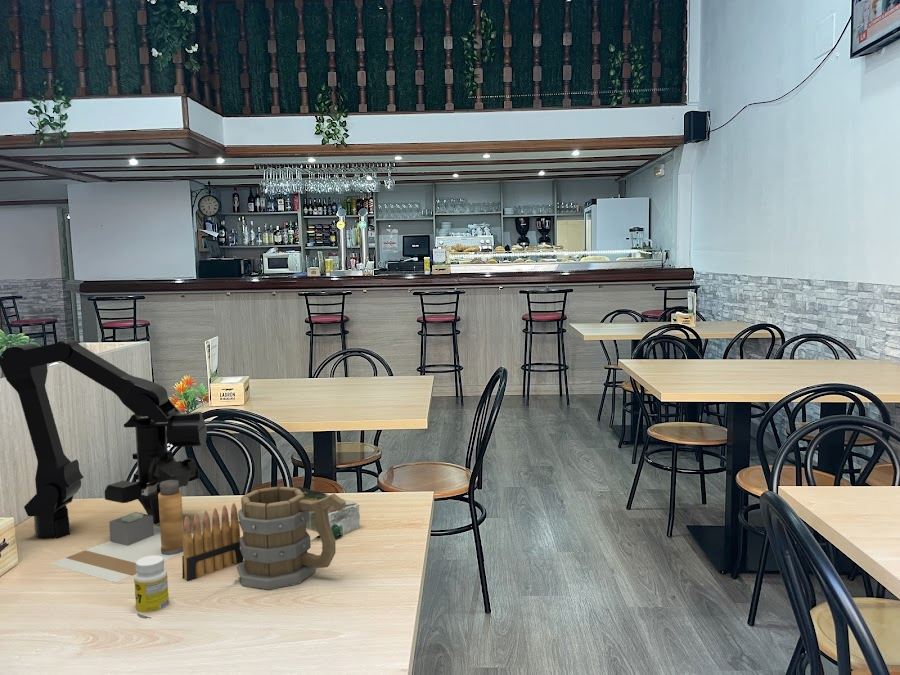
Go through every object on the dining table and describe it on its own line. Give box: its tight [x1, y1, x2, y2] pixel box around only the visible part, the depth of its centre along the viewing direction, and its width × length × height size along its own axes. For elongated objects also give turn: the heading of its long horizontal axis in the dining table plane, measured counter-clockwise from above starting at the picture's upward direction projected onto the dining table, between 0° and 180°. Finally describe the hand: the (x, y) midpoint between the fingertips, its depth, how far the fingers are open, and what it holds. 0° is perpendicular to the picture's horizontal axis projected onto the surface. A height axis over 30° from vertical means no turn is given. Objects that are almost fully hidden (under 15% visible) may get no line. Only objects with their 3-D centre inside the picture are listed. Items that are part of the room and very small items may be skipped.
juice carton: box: [295, 486, 361, 540], centre depth 149 cm, size 20×10×6 cm, turn 51°
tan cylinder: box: [158, 480, 184, 555], centre depth 133 cm, size 4×4×13 cm
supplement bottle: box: [133, 555, 170, 620], centre depth 112 cm, size 5×5×8 cm
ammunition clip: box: [181, 502, 244, 582], centre depth 124 cm, size 11×2×12 cm, turn 137°
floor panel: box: [49, 524, 193, 583], centre depth 134 cm, size 18×22×1 cm
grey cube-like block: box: [108, 511, 155, 546], centre depth 140 cm, size 5×6×5 cm
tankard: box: [236, 486, 346, 591], centre depth 124 cm, size 20×13×15 cm, turn 69°
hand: (156, 523), depth 146 cm, fingers closed
